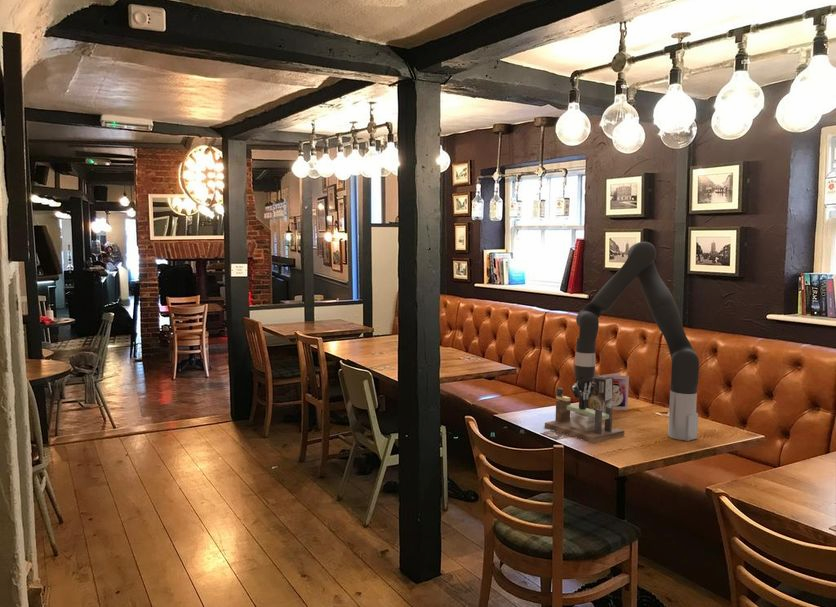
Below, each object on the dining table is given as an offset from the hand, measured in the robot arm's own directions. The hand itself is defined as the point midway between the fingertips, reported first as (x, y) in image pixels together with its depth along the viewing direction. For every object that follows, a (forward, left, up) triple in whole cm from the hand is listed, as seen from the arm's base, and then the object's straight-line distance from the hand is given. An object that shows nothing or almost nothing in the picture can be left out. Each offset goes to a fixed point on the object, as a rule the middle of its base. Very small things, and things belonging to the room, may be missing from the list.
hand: (582, 408), depth 252 cm
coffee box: (+12, -25, -9) cm, 30 cm away
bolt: (+10, 0, +2) cm, 10 cm away
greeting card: (+16, -39, -9) cm, 43 cm away
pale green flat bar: (-2, 0, -2) cm, 3 cm away
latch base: (-1, 0, -9) cm, 9 cm away
